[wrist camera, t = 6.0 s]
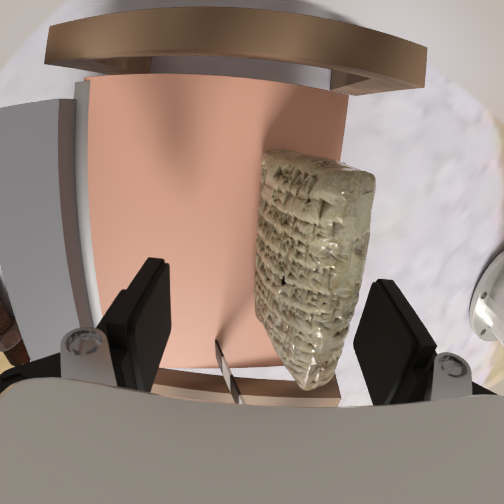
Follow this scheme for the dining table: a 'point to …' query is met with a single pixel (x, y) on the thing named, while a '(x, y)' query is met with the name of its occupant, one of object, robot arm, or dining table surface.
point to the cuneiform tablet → (308, 261)
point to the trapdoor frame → (246, 46)
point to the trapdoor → (150, 203)
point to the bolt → (12, 340)
